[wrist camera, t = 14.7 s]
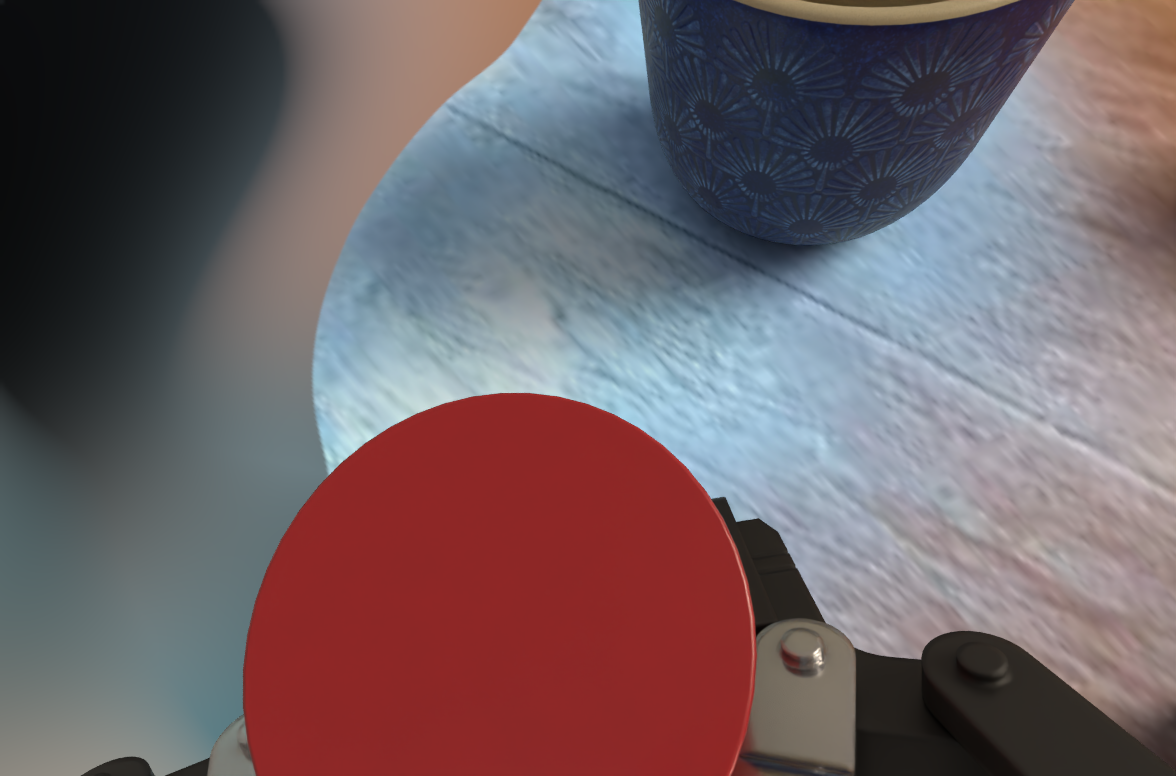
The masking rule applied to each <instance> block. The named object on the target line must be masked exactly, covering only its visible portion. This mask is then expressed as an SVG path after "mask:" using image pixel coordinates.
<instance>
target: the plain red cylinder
mask: <svg viewBox="0 0 1176 776" xmlns="http://www.w3.org/2000/svg"><path fill="white" fill-rule="evenodd" d="M756 661H757V648H756V631H755V617H754V611H753V606H752V600H751V595H750V590H749V584H748V580H747V577H746V574H745V571H744V568H743V565H742V562H741V558H740V555H739V552H738V549H737V547H736V545H735V543H734V541H733V538H732V536H731V534H730V532H729V530H728V528H727V525H726V523H725V521H724V519H723V517H722V516H721V514H720V513H719V511H718V509H717V508H716V506H715V505H714V503H713V501H712V500H711V498H710V497H709V495H708V493H707V492H706V491H705V489H704V488H703V487H702V486H701V484H700V483H699V482H698V481H697V480H696V478H695V477H694V476H693V475H692V474H691V472H690V471H689V470H688V469H687V467H686V466H685V465H684V464H682V463H681V462H680V461H679V460H678V459H677V458H676V457H675V456H674V455H673V454H672V453H671V452H670V451H669V450H668V449H666V448H665V447H664V446H663V445H662V444H660V443H659V442H658V441H656V440H655V439H654V438H652V437H651V436H649V435H648V434H647V433H645V432H644V431H642V430H641V429H640V428H638V427H636V426H634V425H632V424H631V423H629V422H627V421H625V420H623V419H621V418H620V417H618V416H616V415H614V414H612V413H609V412H607V411H604V410H601V409H599V408H596V407H594V406H591V405H589V404H586V403H582V402H578V401H574V400H570V399H566V398H562V397H557V396H549V395H541V394H532V393H498V394H490V395H482V396H474V397H469V398H465V399H461V400H457V401H453V402H448V403H444V404H442V405H439V406H436V407H434V408H431V409H428V410H425V411H423V412H420V413H417V414H415V415H413V416H411V417H409V418H407V419H405V420H403V421H401V422H399V423H397V424H395V425H393V426H391V427H390V428H388V429H387V430H385V431H383V432H382V433H380V434H379V435H377V436H376V437H374V438H373V439H371V440H370V441H368V442H367V443H365V444H364V445H363V446H361V447H360V448H359V449H358V450H357V451H355V452H354V453H353V454H352V455H350V456H349V457H348V458H347V459H346V460H344V461H343V462H342V463H341V464H340V465H339V466H338V467H337V468H336V469H335V470H334V471H333V472H332V473H331V474H330V475H329V476H328V477H327V478H326V479H325V480H324V481H323V482H322V483H321V484H320V485H319V486H318V488H317V489H316V490H315V492H314V493H313V494H312V495H311V496H310V498H309V499H308V500H307V502H306V503H305V504H304V505H303V507H302V508H301V509H300V510H299V512H298V514H297V515H296V517H295V518H294V520H293V521H292V523H291V525H290V526H289V528H288V529H287V531H286V533H285V534H284V536H283V537H282V539H281V541H280V543H279V545H278V547H277V549H276V552H275V553H274V555H273V557H272V560H271V562H270V564H269V566H268V568H267V570H266V573H265V576H264V579H263V581H262V584H261V587H260V590H259V593H258V595H257V598H256V601H255V605H254V609H253V613H252V618H251V622H250V626H249V630H248V634H247V642H246V650H245V659H244V667H243V709H244V719H245V727H246V735H247V743H248V747H249V751H250V755H251V759H252V763H253V767H254V770H255V774H256V776H731V775H732V773H733V771H734V769H735V766H736V763H737V760H738V757H739V754H740V751H741V748H742V745H743V742H744V739H745V736H746V733H747V728H748V723H749V718H750V713H751V708H752V703H753V698H754V691H755V676H756Z"/></svg>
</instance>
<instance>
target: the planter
mask: <svg viewBox="0 0 1176 776" xmlns="http://www.w3.org/2000/svg"><path fill="white" fill-rule="evenodd" d="M1073 2H1074V0H639V8H640V16H641V25H642V33H643V41H644V50H645V58H646V67H647V75H648V84H649V92H650V100H651V107H652V112H653V118H654V122H655V127H656V130H657V134H658V137H659V140H660V143H661V146H662V149H663V151H664V153H665V156H666V158H667V160H668V162H669V164H670V166H671V168H672V170H673V172H674V173H675V175H676V177H677V178H678V180H679V181H680V183H681V184H682V186H683V187H684V188H685V190H686V191H687V192H688V193H689V194H690V195H691V197H692V198H693V199H694V200H695V201H696V202H697V203H698V204H699V205H700V206H701V207H702V208H703V209H704V210H705V211H707V212H708V213H709V214H711V215H712V216H713V217H715V218H716V219H718V220H719V221H721V222H723V223H724V224H726V225H728V226H730V227H732V228H734V229H736V230H738V231H740V232H743V233H745V234H748V235H751V236H753V237H756V238H760V239H764V240H767V241H772V242H777V243H784V244H794V245H818V244H830V243H837V242H843V241H847V240H851V239H855V238H859V237H861V236H864V235H867V234H870V233H873V232H875V231H877V230H879V229H881V228H883V227H886V226H888V225H890V224H892V223H893V222H895V221H897V220H898V219H900V218H902V217H904V216H905V215H907V214H908V213H910V212H911V211H913V210H914V209H915V208H917V207H918V206H919V205H921V204H922V203H923V202H925V201H926V200H927V199H928V198H929V197H930V196H932V195H933V194H934V193H935V192H936V191H937V190H938V189H939V188H940V187H941V186H942V185H944V184H945V183H946V182H947V180H948V179H949V178H950V177H951V176H952V175H953V174H954V173H955V172H956V171H957V169H958V168H959V167H960V166H961V165H962V163H963V162H964V161H965V160H966V158H967V157H968V156H969V154H970V153H971V152H972V150H973V149H974V148H975V146H976V145H977V143H978V142H979V140H980V139H981V137H982V136H983V134H984V133H985V131H986V130H987V128H988V127H989V125H990V124H991V122H992V121H993V120H994V118H995V117H996V115H997V114H998V112H999V111H1000V109H1001V108H1002V106H1003V105H1004V103H1005V102H1006V100H1007V99H1008V97H1009V96H1010V94H1011V93H1012V92H1013V90H1014V89H1015V87H1016V86H1017V84H1018V83H1019V81H1020V80H1021V78H1022V77H1023V75H1024V74H1025V72H1026V71H1027V69H1028V68H1029V66H1030V65H1031V64H1032V62H1033V61H1034V59H1035V58H1036V56H1037V55H1038V53H1039V52H1040V50H1041V49H1042V47H1043V46H1044V44H1045V43H1046V41H1047V40H1048V38H1049V37H1050V35H1051V34H1052V33H1053V31H1054V30H1055V28H1056V27H1057V25H1058V24H1059V22H1060V21H1061V19H1062V18H1063V16H1064V15H1065V13H1066V12H1067V10H1068V9H1069V7H1070V6H1071V5H1072V3H1073Z"/></svg>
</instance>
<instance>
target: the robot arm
mask: <svg viewBox="0 0 1176 776" xmlns="http://www.w3.org/2000/svg"><path fill="white" fill-rule="evenodd" d="M711 500H712V501H713V503H714V505H715V506H716V508H717V509H718V511H719V513H720V514H721V516H722V517H723V519H724V521H725V523H726V525H727V528H728V530H729V532H730V534H731V536H732V538H733V541H734V543H735V545H736V547H737V549H738V552H739V555H740V558H741V562H742V565H743V568H744V571H745V574H746V577H747V580H748V584H749V590H750V595H751V600H752V606H753V611H754V617H755V631H756V648H757V661H756V676H755V691H754V698H753V703H752V708H751V713H750V718H749V723H748V728H747V733H746V736H745V739H744V742H743V745H742V748H741V751H740V754H739V757H738V760H737V763H736V766H735V769H734V771H733V773H732V775H731V776H1176V771H1175V770H1174V769H1173V768H1171V767H1170V766H1169V765H1168V764H1166V763H1165V762H1164V761H1163V760H1161V759H1160V758H1159V757H1158V756H1156V755H1155V754H1154V753H1153V752H1151V751H1150V750H1149V749H1148V748H1146V747H1145V746H1144V745H1143V744H1141V743H1140V742H1139V741H1138V740H1136V739H1135V738H1134V737H1133V736H1131V735H1130V734H1129V733H1128V732H1126V731H1125V730H1124V729H1123V728H1121V727H1120V726H1119V725H1118V724H1116V723H1115V722H1114V721H1113V720H1111V719H1110V718H1109V717H1108V716H1106V715H1105V714H1104V713H1103V712H1101V711H1100V710H1099V709H1098V708H1096V707H1095V706H1094V705H1093V704H1091V703H1090V702H1089V701H1088V700H1086V699H1085V698H1084V697H1083V696H1081V695H1080V694H1079V693H1078V692H1076V691H1075V690H1074V689H1073V688H1071V687H1070V686H1069V685H1068V684H1066V683H1065V682H1064V681H1063V680H1061V679H1060V678H1059V677H1058V676H1056V675H1055V674H1054V673H1053V672H1051V671H1050V670H1049V669H1048V668H1046V667H1045V666H1044V665H1043V664H1041V663H1040V662H1039V661H1038V660H1036V659H1035V658H1034V657H1033V656H1031V655H1030V654H1029V653H1028V652H1026V651H1025V650H1023V649H1022V648H1021V647H1019V646H1017V645H1015V644H1014V643H1012V642H1010V641H1008V640H1005V639H1003V638H1000V637H997V636H994V635H991V634H986V633H981V632H973V631H957V632H950V633H946V634H943V635H940V636H938V637H936V638H934V639H933V640H931V641H930V642H929V643H928V644H927V645H926V646H925V648H924V650H923V653H922V657H921V660H918V659H907V658H896V657H887V656H879V655H875V654H871V653H867V652H864V651H861V650H858V649H856V648H854V647H853V645H852V643H851V642H850V640H849V639H848V638H847V637H846V636H845V635H844V634H843V633H842V632H841V631H839V630H838V629H836V628H835V627H833V626H831V625H829V624H826V623H825V621H824V619H823V617H822V615H821V613H820V611H819V609H818V607H817V606H816V604H815V602H814V600H813V598H812V596H811V594H810V592H809V590H808V588H807V586H806V585H805V583H804V581H803V579H802V577H801V575H800V573H799V571H798V569H797V568H796V567H795V564H794V562H793V560H792V558H791V556H790V554H789V553H788V551H787V548H786V546H785V545H784V543H783V541H782V539H781V537H780V535H779V533H778V532H777V531H776V530H774V529H773V528H771V527H770V526H769V525H767V524H766V523H764V522H763V521H761V520H760V519H759V518H758V519H752V520H746V521H740V522H736V521H735V518H734V516H733V514H732V511H731V509H730V507H729V504H728V502H727V500H726V498H725V497H720V498H714V499H711ZM81 776H155V775H154V773H153V772H152V770H151V768H150V766H149V764H148V763H147V762H146V761H145V760H144V759H142V758H139V757H124V758H118V759H115V760H112V761H109V762H106V763H104V764H102V765H99V766H97V767H95V768H93V769H91V770H89V771H88V772H86V773H85V774H83V775H81ZM166 776H256V774H255V770H254V767H253V763H252V759H251V755H250V751H249V747H248V743H247V735H246V727H245V719H244V714H243V715H242V716H240V717H239V718H237V719H236V720H235V721H234V722H233V723H231V724H230V725H229V726H228V727H227V728H226V729H225V730H224V732H223V733H222V734H221V735H220V736H219V738H218V740H217V741H216V743H215V745H214V746H213V749H212V751H211V755H210V758H208V759H206V760H203V761H201V762H198V763H196V764H193V765H191V766H188V767H186V768H183V769H181V770H178V771H176V772H173V773H171V774H168V775H166Z"/></svg>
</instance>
